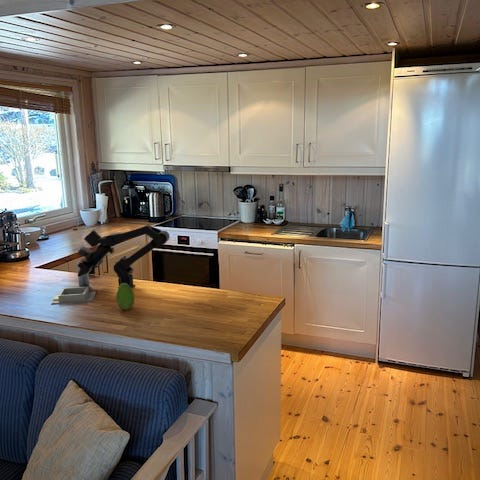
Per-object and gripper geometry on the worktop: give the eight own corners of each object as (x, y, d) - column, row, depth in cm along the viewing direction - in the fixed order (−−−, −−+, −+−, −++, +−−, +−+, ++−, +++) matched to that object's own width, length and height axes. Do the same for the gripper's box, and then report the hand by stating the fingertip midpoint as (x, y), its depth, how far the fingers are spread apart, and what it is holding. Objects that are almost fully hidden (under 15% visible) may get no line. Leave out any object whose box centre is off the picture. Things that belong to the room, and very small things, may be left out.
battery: (95, 274, 267) (93, 256, 265) (82, 275, 264) (80, 258, 262) (94, 272, 271) (92, 255, 269) (81, 273, 268) (80, 256, 266)
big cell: (91, 286, 245) (89, 261, 242) (85, 289, 240) (82, 263, 238) (83, 285, 247) (81, 260, 244) (77, 288, 242) (74, 263, 239)
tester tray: (95, 292, 234) (95, 285, 233) (92, 301, 221) (91, 294, 221) (57, 295, 231) (56, 288, 231) (51, 304, 219) (50, 296, 218)
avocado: (125, 313, 205) (123, 286, 203) (112, 310, 209) (110, 283, 207) (139, 307, 212) (137, 281, 209) (126, 304, 216) (124, 279, 213)
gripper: (95, 238, 247) (76, 259, 251) (79, 246, 229) (59, 268, 233) (111, 253, 248) (92, 273, 251) (97, 262, 230) (77, 284, 233)
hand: (80, 274), depth 242 cm, fingers closed on big cell, 5 cm apart
